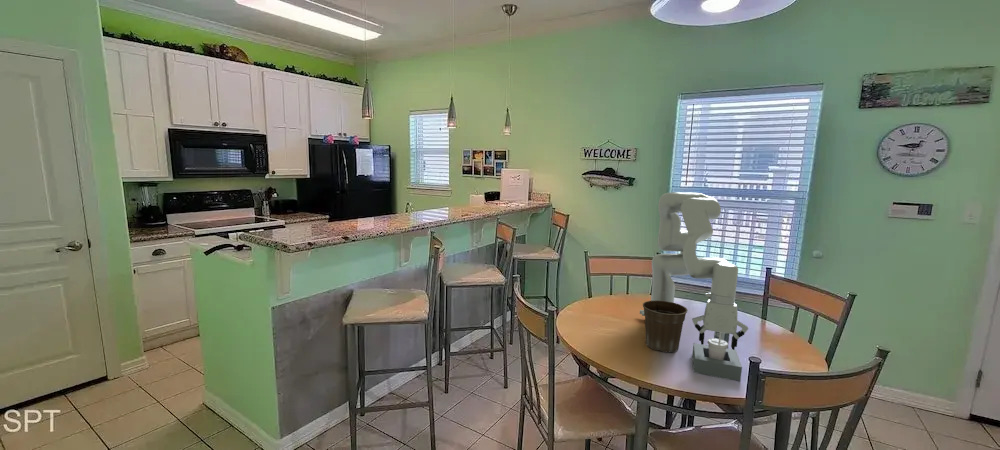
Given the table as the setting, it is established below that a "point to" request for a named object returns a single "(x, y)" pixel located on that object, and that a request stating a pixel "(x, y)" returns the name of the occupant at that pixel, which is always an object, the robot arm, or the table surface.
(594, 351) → the table surface
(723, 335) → the pill bottle
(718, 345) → the smoothie
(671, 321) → the plant pot
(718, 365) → the socket
